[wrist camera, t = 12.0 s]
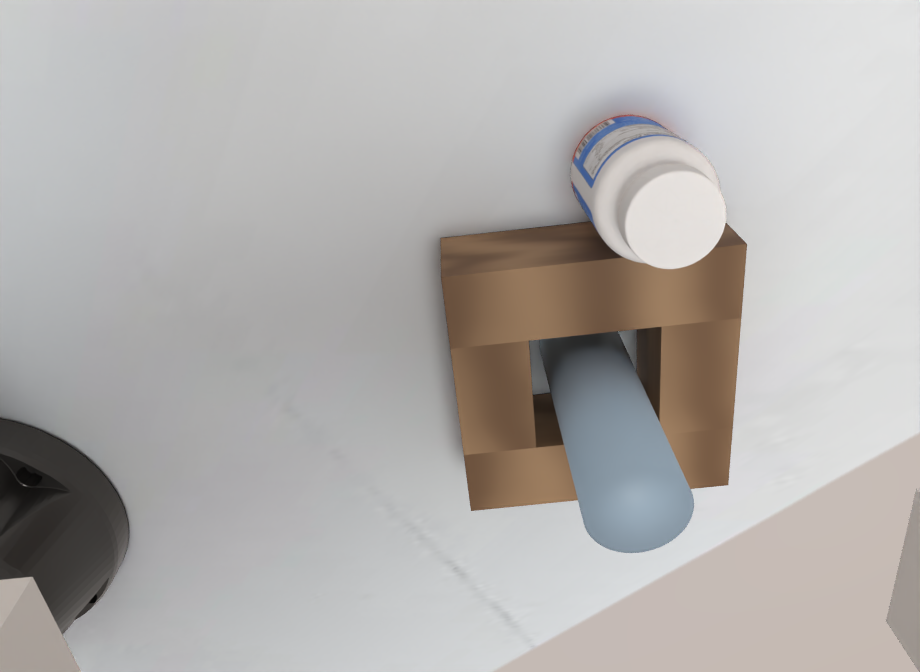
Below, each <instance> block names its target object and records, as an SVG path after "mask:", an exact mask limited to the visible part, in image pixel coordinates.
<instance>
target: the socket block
mask: <svg viewBox="0 0 920 672" xmlns="http://www.w3.org/2000/svg"><path fill="white" fill-rule="evenodd" d="M746 250H747V244H746V243H745V242H744V241H743V240H742V239H741V238H740V237H739V236H738V234H737V233H736V232H735V231H734V230H733V229H732V228H731V227H730V226H729V225H728V224H727V223H725V227H724V231H723V233H722V235H721V238H720V239H719V241H718V243H717V244H716V245H715V247H714V248H713V249H712V250H711V251H710V252H709V253H708V254H707V255H706V256H705V257H703V258H702V259H701V260H699V261H697V262H695V263H694V264H691V265H689V266H686V267H682V268H678V269H661V268H657V267H653V266H651V265H648V264H646V263H639V262H635V261H631V260H629V259H626V258H624V257H622V256H620V255H619V254H617V253H616V252H614V251H613V250H612V249H611V248H610V247H609V246H608V245H607V244H606V243H605V242H604V240H603V239H602V238H601V236H600V235H599V233H598V232H597V230H596V228H595V227H594V225H593V224H592V222H584V223H574V224H565V225H556V226H547V227H538V228H529V229H520V230H511V231H502V232H492V233H483V234H474V235H465V236H456V237H447V238H441V280H442V288H443V296H444V304H445V311H446V319H447V327H448V335H449V343H450V350H451V358H452V366H453V374H454V382H455V389H456V397H457V405H458V413H459V421H460V428H461V436H462V444H463V452H464V460H465V467H466V475H467V483H468V491H469V499H470V506H471V511H474V510H484V509H494V508H504V507H514V506H524V505H534V504H544V503H554V502H564V501H574V500H578V498H577V494H576V490H575V486H574V482H573V478H572V474H571V470H570V466H569V462H568V458H567V454H566V451H565V447H564V443H563V439H562V435H561V431H560V427H559V423H558V419H557V415H556V411H555V407H554V403H553V399H552V395H551V393H548V394H539V395H533V394H532V380H531V366H530V352H529V341H530V340H540V339H549V338H559V337H568V336H577V335H587V334H596V333H606V332H615V331H625V330H634V329H637V374H638V377H639V379H640V381H641V383H642V385H643V387H644V390H645V392H646V394H647V396H648V398H649V400H650V403H651V405H652V407H653V409H654V411H655V413H656V416H657V418H658V420H659V422H660V424H661V426H662V429H663V431H664V433H665V435H666V437H667V440H668V442H669V444H670V446H671V448H672V450H673V453H674V455H675V457H676V459H677V461H678V463H679V466H680V468H681V470H682V472H683V474H684V476H685V479H686V481H687V483H688V485H689V487H690V489H694V488H704V487H714V486H724V485H728V480H729V467H730V454H731V442H732V429H733V416H734V403H735V390H736V378H737V365H738V352H739V339H740V327H741V314H742V301H743V288H744V276H745V263H746Z"/></svg>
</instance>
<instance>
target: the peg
mask: <svg viewBox="0 0 920 672" xmlns="http://www.w3.org/2000/svg"><path fill="white" fill-rule="evenodd" d="M540 352H541V356H542V360H543V364H544V368H545V372H546V376H547V380H548V384H549V387H550V391H551V395H552V399H553V403H554V407H555V411H556V415H557V419H558V423H559V427H560V431H561V435H562V439H563V443H564V447H565V451H566V454H567V458H568V462H569V466H570V470H571V474H572V478H573V482H574V486H575V490H576V494H577V498H578V502H579V506H580V510H581V514H582V518H583V521H584V525H585V528H586V530H587V532H588V533H589V535H590V536H591V537H592V538H593V539H594V540H595V541H596V542H597V543H598V544H600V545H602V546H603V547H605V548H608V549H610V550H613V551H617V552H623V553H639V552H645V551H649V550H653V549H656V548H659V547H661V546H663V545H665V544H667V543H669V542H670V541H672V540H673V539H674V538H676V537H677V536H678V535H679V534H680V533H681V532H682V531H683V530H684V529H685V528H686V526H687V525H688V523H689V521H690V519H691V517H692V514H693V509H694V499H693V494H692V492H691V489H690V487H689V485H688V483H687V481H686V479H685V476H684V474H683V472H682V470H681V468H680V466H679V463H678V461H677V459H676V457H675V455H674V453H673V450H672V448H671V446H670V444H669V442H668V440H667V437H666V435H665V433H664V431H663V429H662V426H661V424H660V422H659V420H658V418H657V416H656V413H655V411H654V409H653V407H652V405H651V403H650V400H649V398H648V396H647V394H646V392H645V390H644V387H643V385H642V383H641V381H640V379H639V377H638V374H637V372H636V370H635V368H634V366H633V363H632V361H631V359H630V357H629V355H628V353H627V350H626V348H625V346H624V344H623V342H622V340H621V337H620V335H619V333H618V331H615V332H606V333H596V334H587V335H577V336H568V337H559V338H549V339H540Z"/></svg>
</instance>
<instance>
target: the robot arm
mask: <svg viewBox="0 0 920 672" xmlns="http://www.w3.org/2000/svg"><path fill="white" fill-rule="evenodd" d="M128 539H129V529H128V521H127V517H126V513H125V510H124V507H123V505H122V502H121V500H120V498H119V496H118V495H117V493H116V491H115V490H114V488H113V487H112V485H111V484H110V482H109V481H108V480H107V479H106V477H105V476H104V475H103V474H102V473H101V472H100V471H99V470H98V469H97V468H96V467H95V466H94V465H93V464H92V463H91V462H90V461H89V460H88V459H87V458H85V457H84V456H83V455H81V454H80V453H79V452H77V451H76V450H74V449H73V448H72V447H70V446H68V445H67V444H65V443H63V442H62V441H60V440H58V439H56V438H54V437H52V436H50V435H48V434H46V433H44V432H42V431H39V430H37V429H34V428H31V427H28V426H25V425H22V424H19V423H15V422H12V421H7V420H3V419H0V672H81V671H80V669H79V667H78V665H77V663H76V661H75V659H74V657H73V655H72V653H71V651H70V649H69V647H68V645H67V643H66V641H65V639H64V637H63V635H62V634H63V633H64V632H65V631H66V630H67V629H68V628H69V627H70V625H71V624H72V623H73V621H74V620H75V619H77V618H79V617H80V616H82V615H83V614H85V613H86V612H87V611H88V610H90V609H91V608H92V607H93V606H94V605H95V604H96V603H97V602H98V601H99V600H100V599H101V597H102V596H103V595H104V594H105V592H106V591H107V589H108V588H109V586H110V585H111V583H112V581H113V579H114V577H115V575H116V573H117V571H118V569H119V567H120V565H121V563H122V561H123V559H124V556H125V553H126V550H127V546H128ZM886 621H887V623H888V625H889V626H890V628H891V629H892V631H893V632H894V634H895V636H896V637H897V639H898V640H899V642H900V643H901V644H902V646H903V648H904V649H905V651H906V652H907V654H908V656H909V657H910V659H911V660H912V662H913V663H914V665H915V666H916V668H917V669H918V671H919V672H920V489H916V492H915V497H914V501H913V505H912V510H911V514H910V519H909V523H908V527H907V532H906V536H905V541H904V545H903V549H902V554H901V558H900V563H899V567H898V571H897V575H896V580H895V584H894V589H893V593H892V597H891V602H890V606H889V611H888V615H887V619H886Z"/></svg>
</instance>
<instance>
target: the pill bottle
mask: <svg viewBox="0 0 920 672" xmlns="http://www.w3.org/2000/svg"><path fill="white" fill-rule="evenodd" d="M570 176H571V184H572V188H573V191H574V193H575V196H576V198H577V200H578V202H579V203H580V205H581V206H582V208H583V209H584V211H585V213H586V214H587V216H588V217H589V219H590V220H591V222H592V224H593V225H594V227H595V228H596V230H597V232H598V233H599V235H600V236H601V238H602V239H603V240H604V242H605V243H606V244H607V245H608V246H609V247H610V248H611V249H612V250H613V251H614V252H616V253H617V254H619V255H620V256H622V257H624V258H626V259H629V260H631V261H635V262H639V263H646V264H648V265H651V266H653V267H657V268H661V269H678V268H682V267H686V266H689V265H691V264H694V263H695V262H697V261H699V260H701V259H702V258H703V257H705V256H706V255H707V254H708V253H709V252H710V251H711V250H712V249H713V248H714V247H715V245H716V244H717V243H718V241H719V239H720V238H721V235H722V233H723V231H724V227H725V223H726V205H725V201H724V198H723V196H722V193H721V191H720V184H719V179H718V176H717V174H716V171H715V169H714V167H713V166H712V164H711V163H710V161H709V160H708V159H707V157H706V156H705V155H704V154H703V153H702V152H700V151H699V150H698V149H696V148H695V147H694V146H692V145H691V144H689V143H688V142H686V141H685V140H683V139H681V138H680V137H678V136H677V135H675V134H674V133H672V132H670V131H669V130H667V129H666V128H664V127H662V126H661V125H660V124H658V123H656V122H655V121H653V120H650V119H648V118H645V117H641V116H634V115H624V116H618V117H613V118H610V119H607V120H605V121H603V122H601V123H600V124H598V125H597V126H595V127H594V128H593V129H591V130H590V131H589V132H588V133H587V134H586V135H585V136H584V138H583V139H582V140H581V142H580V143H579V145H578V147H577V149H576V151H575V153H574V156H573V159H572V163H571V171H570Z"/></svg>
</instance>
